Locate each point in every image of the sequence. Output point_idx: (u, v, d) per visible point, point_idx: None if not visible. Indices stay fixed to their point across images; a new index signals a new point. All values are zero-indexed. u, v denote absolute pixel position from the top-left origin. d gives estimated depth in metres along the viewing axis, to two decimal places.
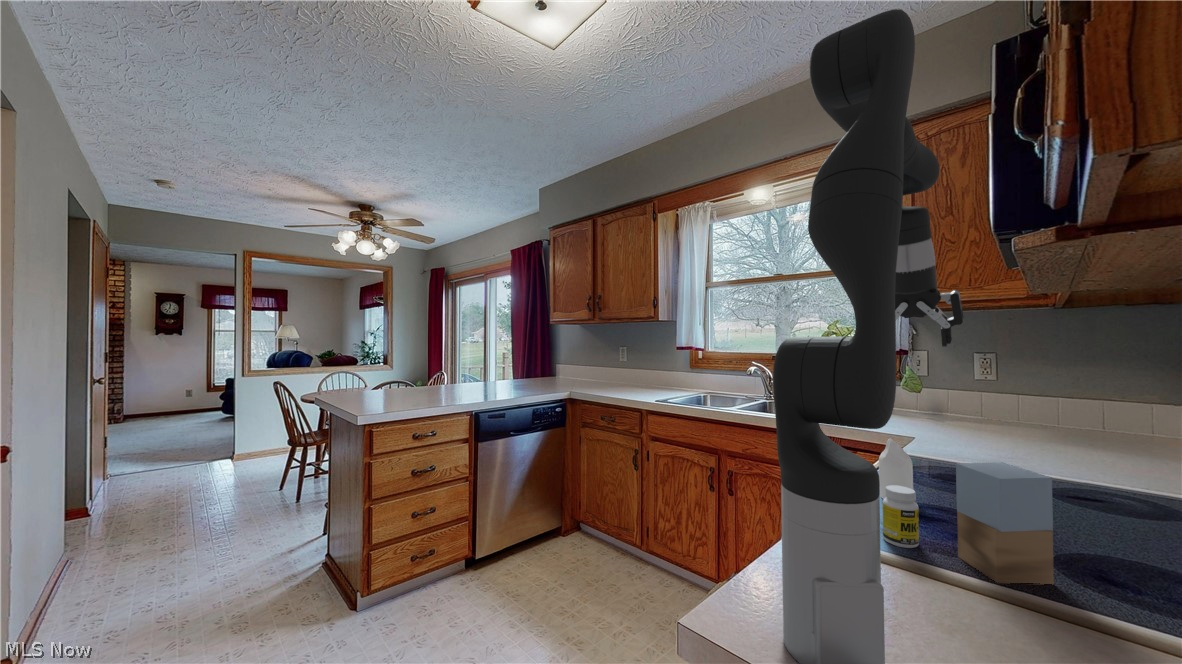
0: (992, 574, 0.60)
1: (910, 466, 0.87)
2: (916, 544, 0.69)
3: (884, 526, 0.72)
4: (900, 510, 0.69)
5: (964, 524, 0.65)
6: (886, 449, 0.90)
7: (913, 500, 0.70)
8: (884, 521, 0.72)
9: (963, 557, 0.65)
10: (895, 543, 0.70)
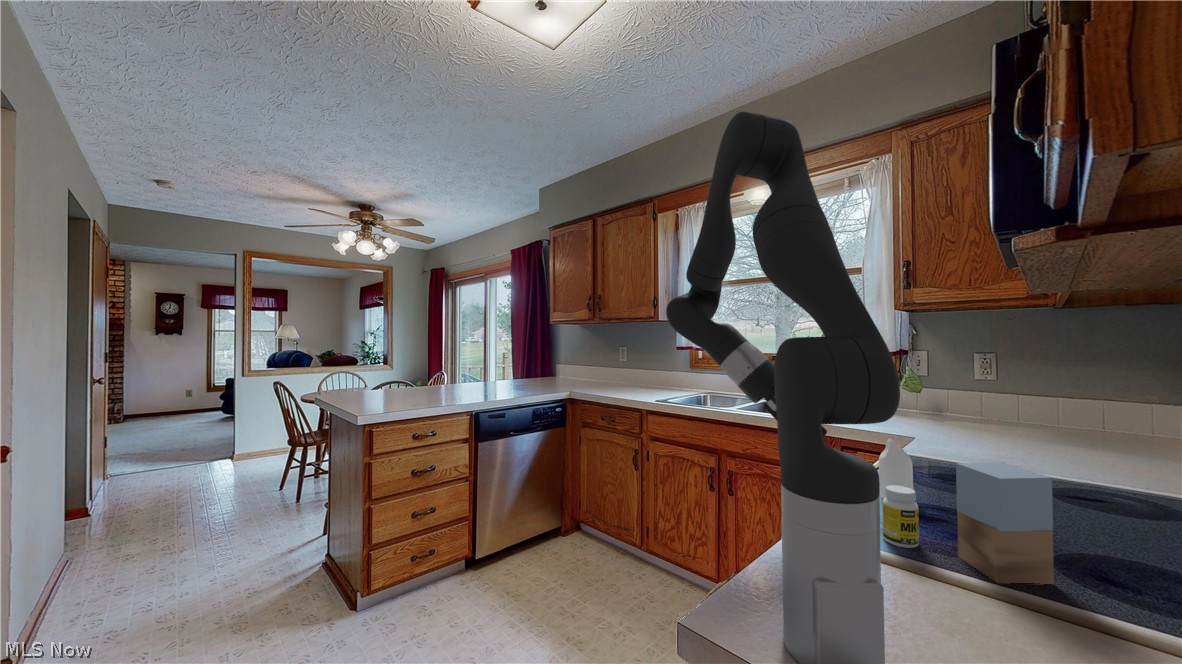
0: (992, 574, 0.60)
1: (910, 466, 0.87)
2: (916, 544, 0.69)
3: (884, 526, 0.72)
4: (900, 510, 0.69)
5: (964, 524, 0.65)
6: (886, 449, 0.90)
7: (913, 500, 0.70)
8: (884, 521, 0.72)
9: (963, 557, 0.65)
10: (895, 543, 0.70)
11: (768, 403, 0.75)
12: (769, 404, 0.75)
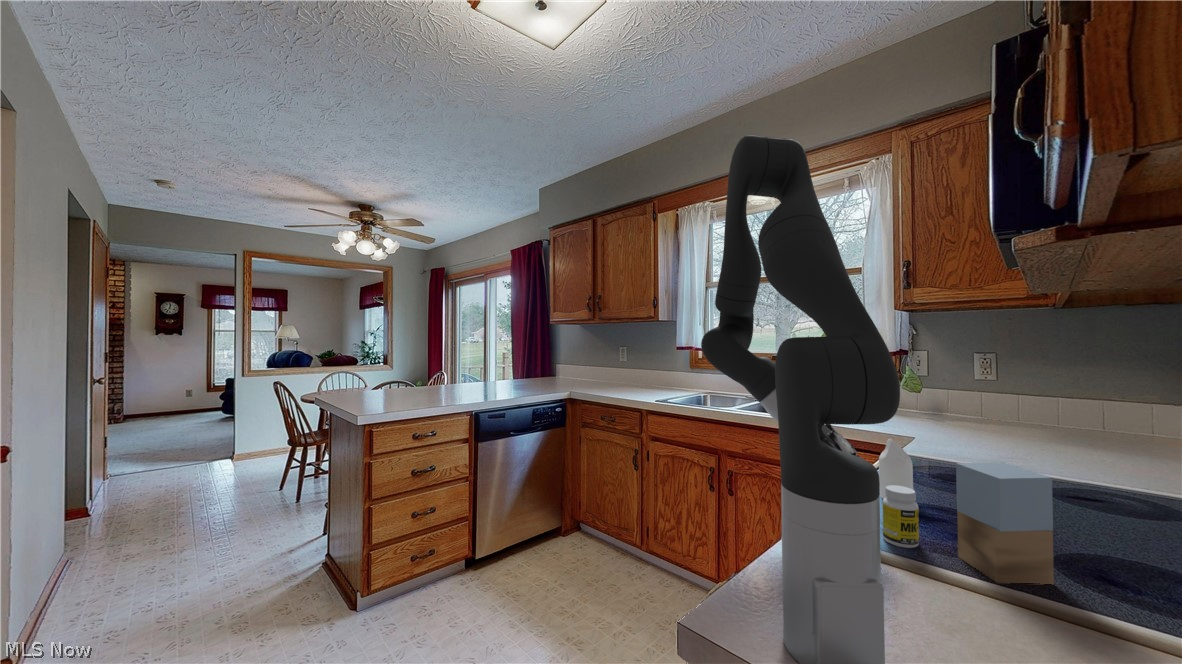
0: (992, 574, 0.60)
1: (910, 466, 0.87)
2: (916, 544, 0.69)
3: (884, 526, 0.72)
4: (900, 510, 0.69)
5: (964, 524, 0.65)
6: (886, 449, 0.90)
7: (913, 500, 0.70)
8: (884, 521, 0.72)
9: (963, 557, 0.65)
10: (895, 543, 0.70)
11: None
12: None
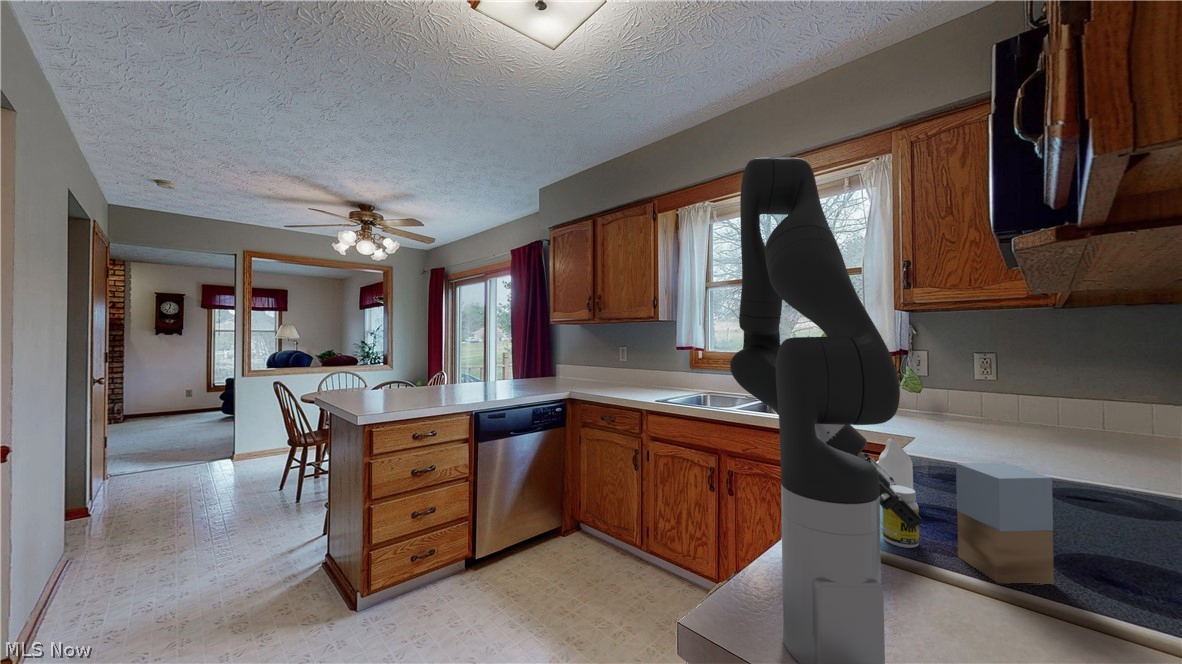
0: (992, 574, 0.60)
1: (910, 466, 0.87)
2: (916, 544, 0.69)
3: (884, 526, 0.72)
4: None
5: (964, 524, 0.65)
6: (886, 449, 0.90)
7: (913, 500, 0.70)
8: (884, 521, 0.72)
9: (963, 557, 0.65)
10: (895, 543, 0.70)
11: None
12: None
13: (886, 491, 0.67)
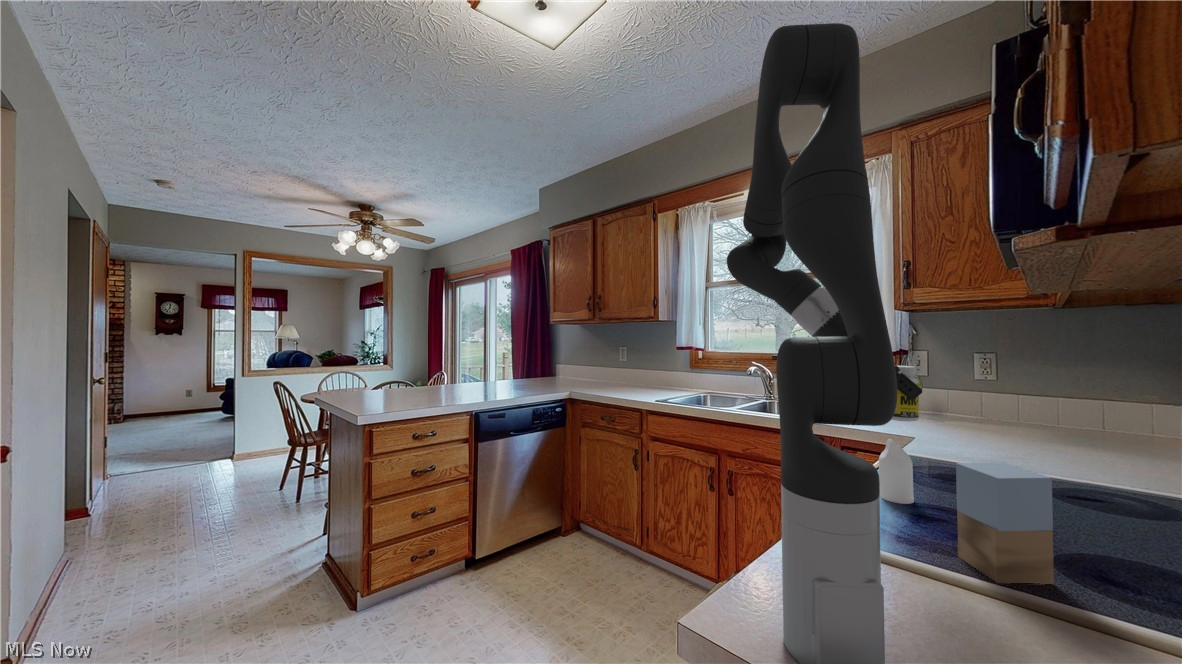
0: (992, 574, 0.60)
1: (910, 466, 0.87)
2: (916, 417, 0.69)
3: None
4: None
5: (964, 524, 0.65)
6: (886, 449, 0.90)
7: (913, 374, 0.69)
8: None
9: (963, 557, 0.65)
10: (895, 417, 0.70)
11: None
12: None
13: None
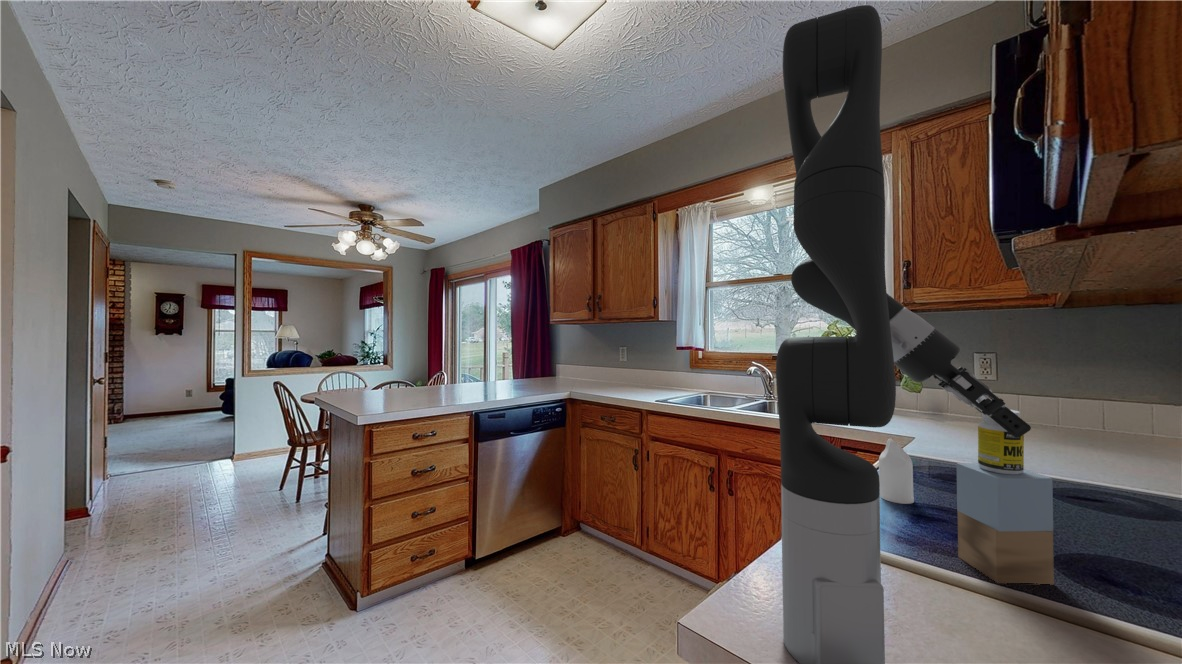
0: (992, 574, 0.60)
1: (910, 466, 0.87)
2: (1021, 470, 0.61)
3: (981, 453, 0.63)
4: (1003, 432, 0.61)
5: (964, 524, 0.65)
6: (886, 449, 0.90)
7: None
8: (981, 447, 0.63)
9: (963, 557, 0.65)
10: (996, 470, 0.61)
11: (956, 380, 0.60)
12: (958, 381, 0.60)
13: (986, 391, 0.58)
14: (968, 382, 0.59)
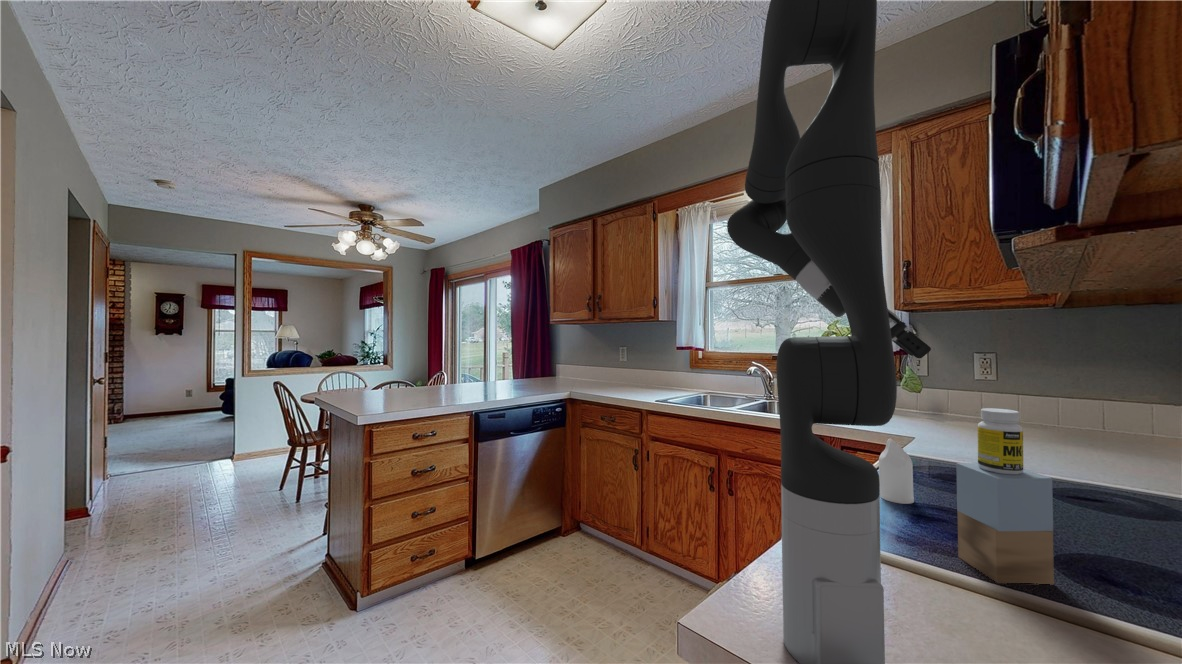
0: (992, 574, 0.60)
1: (910, 466, 0.87)
2: (1021, 470, 0.61)
3: (981, 453, 0.63)
4: (1003, 432, 0.61)
5: (964, 524, 0.65)
6: (886, 449, 0.90)
7: (1017, 420, 0.61)
8: (981, 447, 0.63)
9: (963, 557, 0.65)
10: (996, 470, 0.61)
11: None
12: None
13: (890, 315, 0.63)
14: None
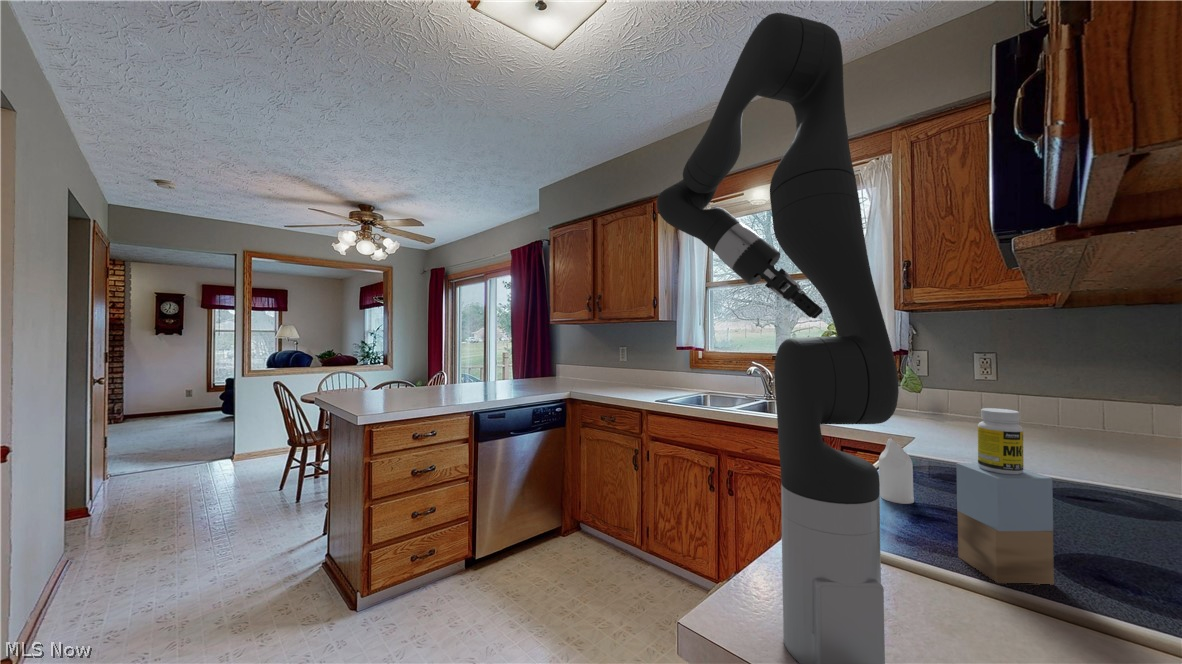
0: (992, 574, 0.60)
1: (910, 466, 0.87)
2: (1021, 470, 0.61)
3: (981, 453, 0.63)
4: (1003, 432, 0.61)
5: (964, 524, 0.65)
6: (886, 449, 0.90)
7: (1017, 420, 0.61)
8: (981, 447, 0.63)
9: (963, 557, 0.65)
10: (996, 470, 0.61)
11: (765, 272, 0.74)
12: (766, 273, 0.73)
13: (784, 279, 0.72)
14: (772, 273, 0.73)
